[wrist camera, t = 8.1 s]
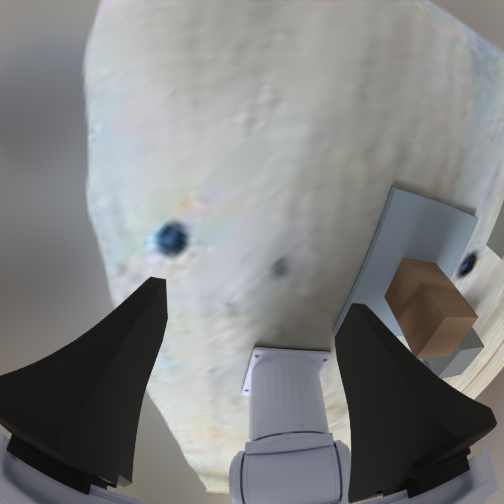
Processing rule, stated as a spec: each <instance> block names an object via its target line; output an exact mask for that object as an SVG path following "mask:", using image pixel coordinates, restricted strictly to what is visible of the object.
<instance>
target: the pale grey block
mask: <svg viewBox="0 0 504 504" xmlns="http://www.w3.org/2000/svg"><path fill="white" fill-rule="evenodd" d="M486 245H487V246H488V247H489V248H490V249H491V250H493V251H494V252H495V253H496V254H497V255H498V256H499V257H500V258H501V259H502V260H504V201H503V204H502V207H501V210H500V213H499V215H498V218H497V220H496V223H495V225H494V228H493V230H492V233H491V235H490V237H489V240H488V242H487V244H486Z"/></svg>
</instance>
